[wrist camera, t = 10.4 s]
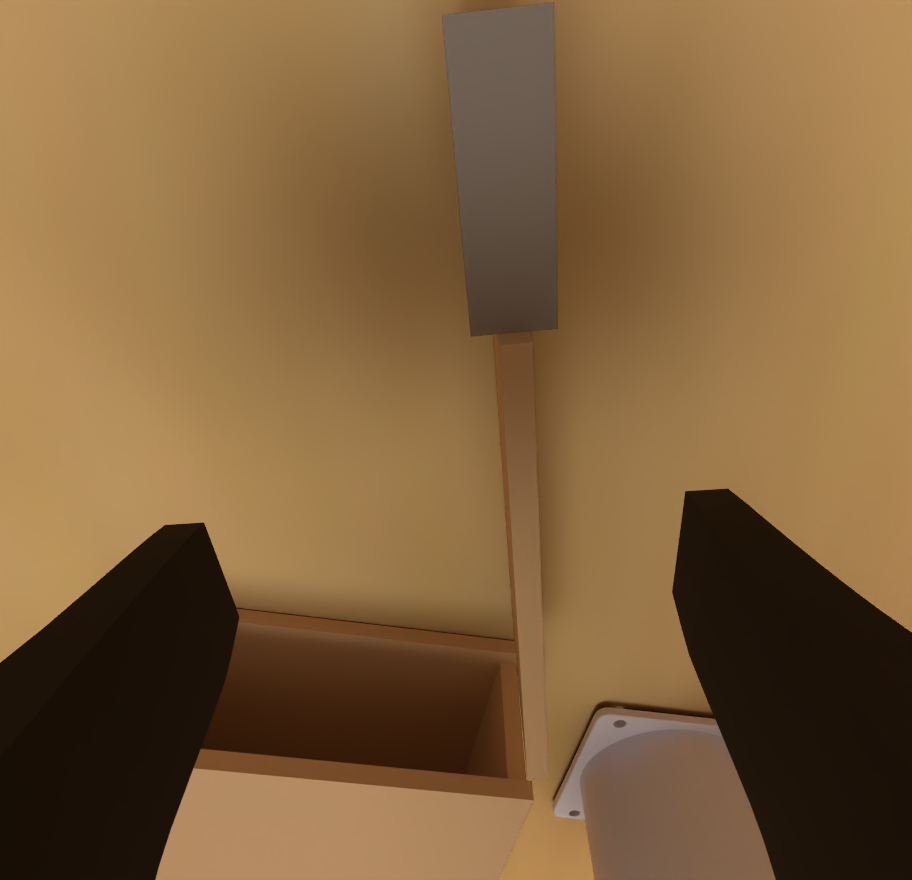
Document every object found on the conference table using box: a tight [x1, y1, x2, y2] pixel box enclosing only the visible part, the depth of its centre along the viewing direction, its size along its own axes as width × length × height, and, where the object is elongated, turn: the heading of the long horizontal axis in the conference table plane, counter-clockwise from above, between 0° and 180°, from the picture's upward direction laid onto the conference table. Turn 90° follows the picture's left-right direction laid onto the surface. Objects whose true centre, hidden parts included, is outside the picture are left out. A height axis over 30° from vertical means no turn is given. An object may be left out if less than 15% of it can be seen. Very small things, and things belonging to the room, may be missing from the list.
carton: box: [156, 609, 534, 880], centre depth 24 cm, size 14×9×6 cm, turn 80°
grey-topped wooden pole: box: [442, 2, 558, 781], centre depth 16 cm, size 19×2×6 cm, turn 5°
